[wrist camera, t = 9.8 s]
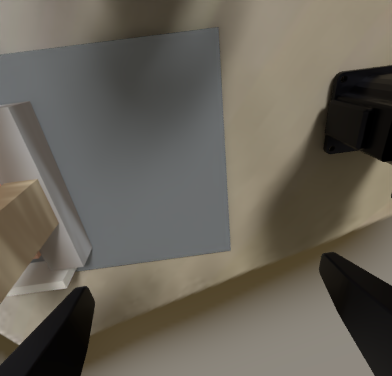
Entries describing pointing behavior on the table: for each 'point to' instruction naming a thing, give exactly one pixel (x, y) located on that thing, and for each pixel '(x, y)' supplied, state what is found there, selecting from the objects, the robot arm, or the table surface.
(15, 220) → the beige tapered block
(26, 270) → the tray
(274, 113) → the table surface
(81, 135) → the board
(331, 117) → the robot arm
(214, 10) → the table surface
